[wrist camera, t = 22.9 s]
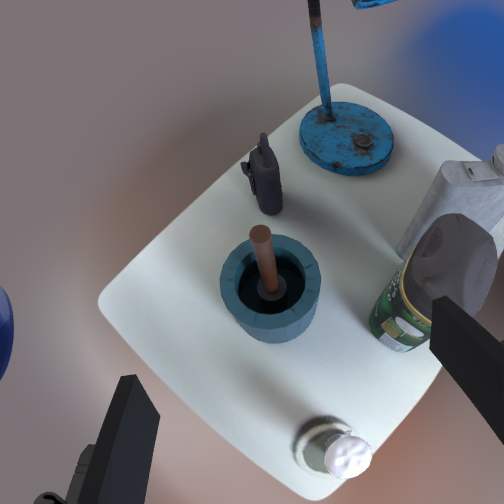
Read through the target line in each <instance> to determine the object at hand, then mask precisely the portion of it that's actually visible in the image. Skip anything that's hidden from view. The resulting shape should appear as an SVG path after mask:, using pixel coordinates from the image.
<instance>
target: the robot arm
mask: <svg viewBox="0 0 504 504" xmlns="http://www.w3.org/2000/svg"><path fill="white" fill-rule="evenodd" d="M429 349H430V350H431V352H432V353H433V354H434V355H435V356H436V358H437V359H438V360H439V361H440V362H441V364H442V365H443V366H444V367H445V369H446V370H447V371H448V372H449V374H450V375H451V376H452V377H453V378H454V380H455V381H456V382H457V384H458V385H459V386H460V387H461V389H462V390H463V391H464V392H465V394H466V395H467V396H468V398H469V399H470V400H471V402H472V403H473V404H474V405H475V407H476V408H477V409H478V411H479V412H480V413H481V415H482V416H483V417H484V419H485V420H486V421H487V423H488V424H489V425H490V427H491V428H492V430H493V431H494V432H495V434H496V435H497V436H498V438H499V439H500V441H501V442H502V443H503V445H504V340H503V341H502V342H499V341H498V340H497V339H495V338H494V337H493V336H492V335H491V334H490V333H489V332H488V331H486V329H484V328H483V327H482V326H481V325H480V324H479V323H478V322H476V321H475V320H474V319H473V318H472V317H471V316H470V315H469V314H468V313H466V312H465V311H464V310H463V309H462V308H461V307H459V306H458V305H457V304H456V303H455V302H454V301H452V300H451V299H450V298H449V297H448V296H446V295H445V296H442V297H440V298H437V299H434V300H432V319H431V334H430V347H429ZM159 420H160V415H159V413H158V412H157V410H156V408H155V407H154V405H153V403H152V402H151V400H150V398H149V397H148V395H147V393H146V391H145V390H144V388H143V386H142V384H141V383H140V381H139V379H138V377H137V376H136V374H134V375H127V376H121V377H120V380H119V382H118V385H117V388H116V390H115V393H114V395H113V398H112V401H111V404H110V406H109V409H108V411H107V414H106V417H105V419H104V422H103V425H102V428H101V430H100V433H99V436H98V439H97V442H96V445H92V444H89V445H88V446H87V447H86V448H85V449H84V451H83V452H82V453H81V455H80V458H79V461H78V463H77V464H78V466H76V469H75V474H74V475H73V478H72V481H71V484H70V487H69V490H68V493H67V496H66V499H65V501H64V500H63V499H62V498H61V497H59V496H58V495H57V494H55V493H53V492H45V493H43V494H41V495H40V496H38V497H37V498H36V500H35V501H34V504H144V502H145V496H146V489H147V484H148V478H149V472H150V467H151V462H152V456H153V451H154V445H155V440H156V435H157V430H158V425H159Z"/></svg>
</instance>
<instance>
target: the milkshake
mask: <svg viewBox="0 0 504 504" xmlns="http://www.w3.org/2000/svg"><path fill="white" fill-rule="evenodd" d="M351 431H352V430H350V431H347V432H346V434H341V433H336V434H334V435H331V436H329V437H328V439H327V441H326V442H325V466H326V468H327V470H328V472H329V473H330V474H332V475H333V476H336V477H338V478H342V479H347V478H352V477H355V476H357V475H359V474H361V473H362V472H363V471H364V470H365V469H366V468H367V467H368V466H369V464H370V461H371V448H370V446H369V444H368V443H367V442H366V441H365V440H364V439H362V438H360V437H357V436H351V435H350V433H351Z"/></svg>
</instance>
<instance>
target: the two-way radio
mask: <svg viewBox="0 0 504 504" xmlns="http://www.w3.org/2000/svg"><path fill="white" fill-rule="evenodd" d="M241 168H242V171H243V173H244V174H245V175H247V177H248V178H249V181H250V185H251V189H252V192H253V195H256V198H257V201H258V204H259V207H260V209H261V211H262V212H263V213H264V214H268V215H276V214H278V213H279V212H280V211H281V210H282V207H283V206H282V202H283V201H282V190H281V187H282V186H281V183H280V173H279V166H278V162H277V159H276V157H275V155H274V152H273V151H272V149H271V148H270V147H269V143H268V138H267V134H266V133H261V135H260V142H259V143H258V144H257V148H255V149H254V150H252V151H251V152H250V156H249V162H247V163H246V162H241ZM252 177H253V181H252ZM253 184H254V185H253Z"/></svg>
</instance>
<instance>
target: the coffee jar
mask: <svg viewBox="0 0 504 504" xmlns="http://www.w3.org/2000/svg"><path fill="white" fill-rule="evenodd" d="M497 263H498V257H497V250H496V246H495V243H494V240H493V237H492V236H491V235H490V234H489V233H488V232H487V231H486V230H484V229H483V228H482V227H481V226H480V225H478V224H477V223H475V222H474V221H473V220H471V219H469V218H468V217H466V216H465V215H463V214H461V213H450V214H445V215H442V216H440V217H438V218H437V219H436V220H435V221H434V222H433V223H432V224H431V225H430V227H429V228H428V229H427V231H426V232H425V233H424V234H423V236H422V237H421V238H420V240H419V241H418V243H417V244H416V246H415V247H414V248H413V250H412V251H411V252H410V254H409V255H408V256H407V258H406V259H405V261H404V262H403V263H402V265H401V266H400V268H399V269H398V271H397V272H396V274H395V275H394V277H393V278H392V280H391V281H390V283H389V284H388V285H387V287H386V288H385V290H384V291H383V293H382V294H381V296H380V297H379V299H378V300H377V302H376V304H375V306H374V308H373V310H372V312H371V314H370V318H369V326H370V329H371V331H372V333H373V334H374V336H375V337H376V338H377V339H378V340H379V341H381V342H382V343H383V344H384V345H386V346H387V347H389V348H391V349H393V350H395V351H398V352H407V351H410V350H412V349H414V348H416V347H417V346H419V345H421V344H422V343H424V342H425V341H427V340H429V339H430V334H431V319H432V300H434V299H437V298H440V297H442V296H445V295H446V296H448V297H449V298H450V299H451V300H452V301H454V302H455V303H456V304H457V305H458V306H459V307H461V308H462V309H463V310H464V311H465V312H466V313H468V314H469V315H470V316H471V317H472V318H473V317H474V316H475V315H476V314H477V313H478V312H479V310H480V309H481V308H482V307H483V304H484V302H485V299H486V297H487V295H488V292H489V290H490V287H491V285H492V282H493V279H494V276H495V272H496V269H497Z"/></svg>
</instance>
